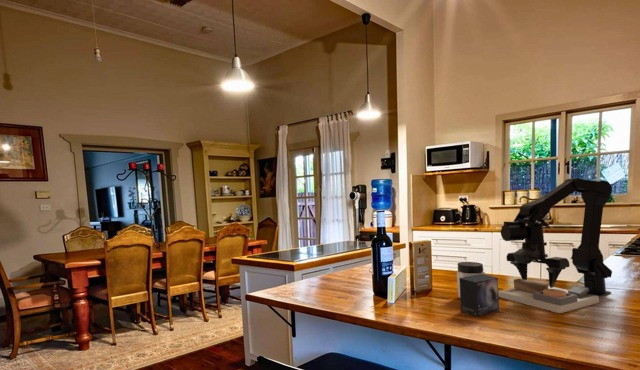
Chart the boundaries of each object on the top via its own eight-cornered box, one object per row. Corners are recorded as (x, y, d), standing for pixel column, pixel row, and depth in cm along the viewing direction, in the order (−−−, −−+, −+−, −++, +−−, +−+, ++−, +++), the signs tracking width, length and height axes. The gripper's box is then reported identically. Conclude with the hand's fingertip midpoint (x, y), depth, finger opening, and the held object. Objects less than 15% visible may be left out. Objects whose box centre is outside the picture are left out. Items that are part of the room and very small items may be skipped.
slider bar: (519, 287, 119) (519, 278, 119) (548, 293, 110) (547, 284, 110) (514, 288, 118) (513, 279, 118) (542, 294, 109) (542, 285, 109)
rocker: (577, 288, 110) (576, 285, 110) (589, 290, 107) (588, 287, 107) (568, 293, 108) (567, 290, 108) (580, 296, 105) (579, 293, 105)
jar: (475, 303, 110) (473, 267, 110) (454, 298, 117) (451, 264, 117) (490, 298, 115) (488, 263, 115) (469, 293, 121) (466, 260, 122)
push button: (551, 294, 108) (550, 287, 108) (571, 298, 102) (570, 292, 102) (538, 297, 105) (538, 290, 105) (558, 301, 100) (558, 295, 100)
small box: (478, 317, 97) (476, 281, 98) (459, 311, 103) (457, 277, 103) (501, 311, 102) (498, 276, 102) (482, 305, 108) (480, 273, 108)
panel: (536, 288, 124) (535, 278, 124) (599, 302, 106) (597, 289, 106) (499, 297, 116) (498, 285, 116) (559, 313, 98) (558, 299, 98)
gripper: (494, 239, 122) (497, 282, 121) (546, 244, 105) (551, 294, 104) (515, 236, 126) (518, 278, 125) (568, 241, 109) (572, 289, 108)
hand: (537, 284), depth 115 cm, fingers open, 9 cm apart
